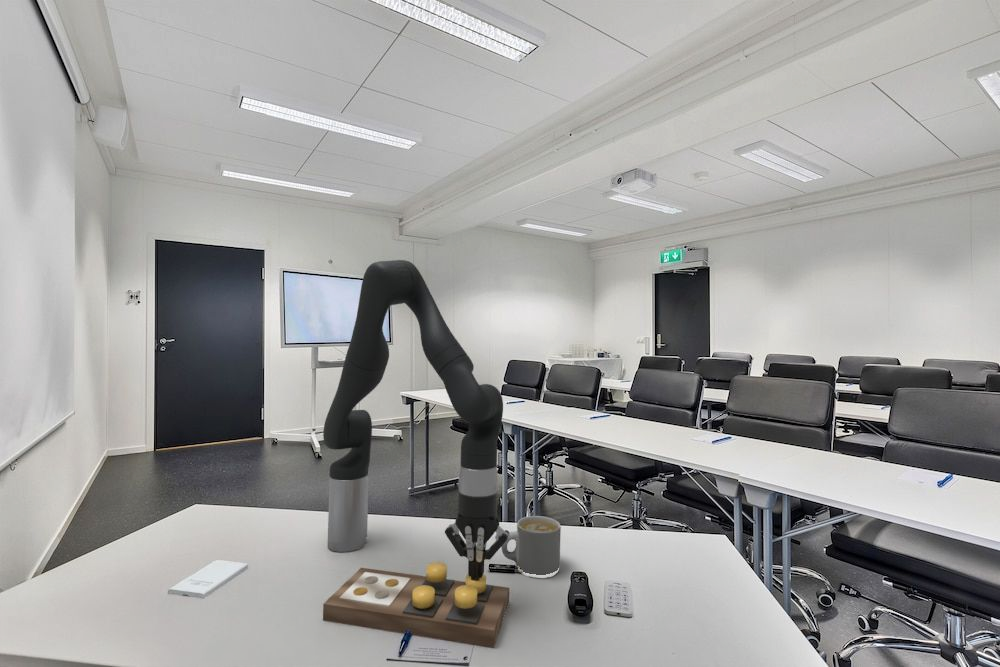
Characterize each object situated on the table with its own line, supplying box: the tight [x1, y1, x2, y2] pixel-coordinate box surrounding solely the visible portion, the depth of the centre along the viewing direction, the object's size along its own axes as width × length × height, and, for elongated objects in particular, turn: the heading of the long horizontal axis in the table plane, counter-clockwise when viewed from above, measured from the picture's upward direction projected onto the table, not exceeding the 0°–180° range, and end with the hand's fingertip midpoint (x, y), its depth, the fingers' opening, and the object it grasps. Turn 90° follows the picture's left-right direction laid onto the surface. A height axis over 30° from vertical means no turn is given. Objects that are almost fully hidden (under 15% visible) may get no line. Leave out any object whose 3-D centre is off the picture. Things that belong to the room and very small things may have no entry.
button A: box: [425, 561, 448, 582], centre depth 93 cm, size 4×4×2 cm
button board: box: [322, 567, 510, 649], centre depth 90 cm, size 14×32×4 cm, turn 78°
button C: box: [464, 573, 487, 594], centre depth 91 cm, size 4×4×2 cm
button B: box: [412, 585, 435, 608], centre depth 86 cm, size 4×4×2 cm
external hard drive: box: [167, 559, 249, 599], centre depth 99 cm, size 2×8×12 cm
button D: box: [455, 585, 477, 609], centre depth 85 cm, size 4×4×2 cm
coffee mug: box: [501, 515, 562, 575], centre depth 108 cm, size 13×10×10 cm
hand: (475, 578), depth 91 cm, fingers closed
